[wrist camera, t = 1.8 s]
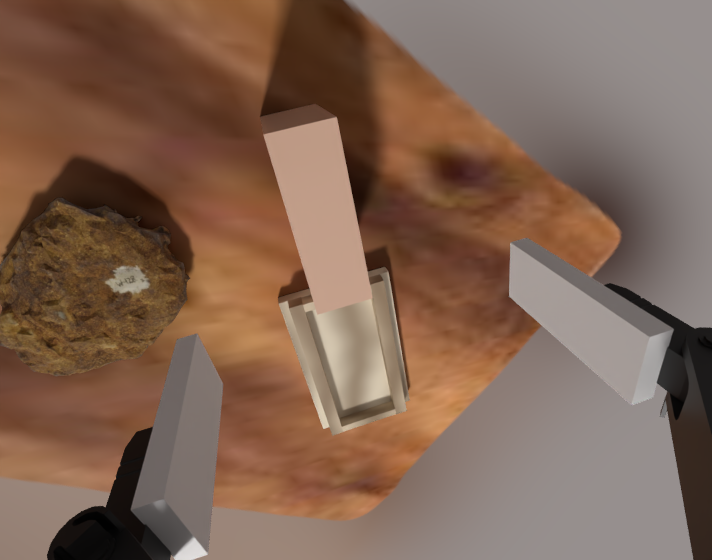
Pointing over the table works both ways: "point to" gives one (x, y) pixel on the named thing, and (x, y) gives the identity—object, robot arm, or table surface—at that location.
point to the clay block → (319, 203)
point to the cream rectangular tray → (350, 356)
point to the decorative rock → (87, 289)
